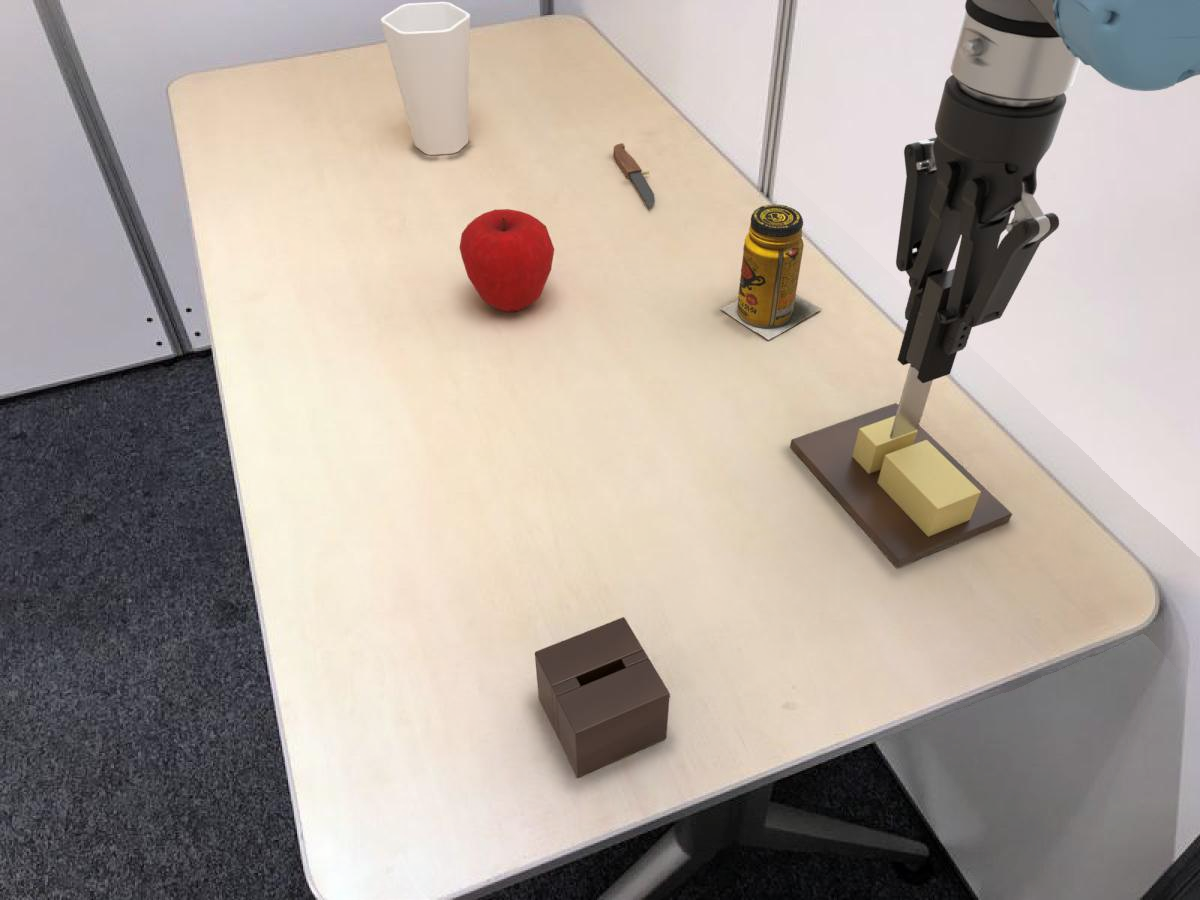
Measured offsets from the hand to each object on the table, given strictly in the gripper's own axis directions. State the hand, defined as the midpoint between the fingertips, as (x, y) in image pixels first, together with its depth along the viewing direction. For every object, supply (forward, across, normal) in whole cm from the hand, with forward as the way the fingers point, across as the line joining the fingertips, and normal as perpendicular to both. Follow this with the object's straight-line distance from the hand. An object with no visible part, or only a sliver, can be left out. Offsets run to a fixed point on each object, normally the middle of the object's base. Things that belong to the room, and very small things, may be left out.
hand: (923, 366), depth 78 cm
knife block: (+13, +11, -34) cm, 38 cm away
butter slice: (+12, -2, 0) cm, 12 cm away
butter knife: (+7, 0, 0) cm, 7 cm away
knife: (+13, -58, +4) cm, 60 cm away
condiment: (+13, -26, +4) cm, 30 cm away
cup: (+13, -79, -16) cm, 82 cm away
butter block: (+12, +4, 0) cm, 13 cm away
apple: (+13, -40, -21) cm, 47 cm away
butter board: (+13, +1, 0) cm, 13 cm away
